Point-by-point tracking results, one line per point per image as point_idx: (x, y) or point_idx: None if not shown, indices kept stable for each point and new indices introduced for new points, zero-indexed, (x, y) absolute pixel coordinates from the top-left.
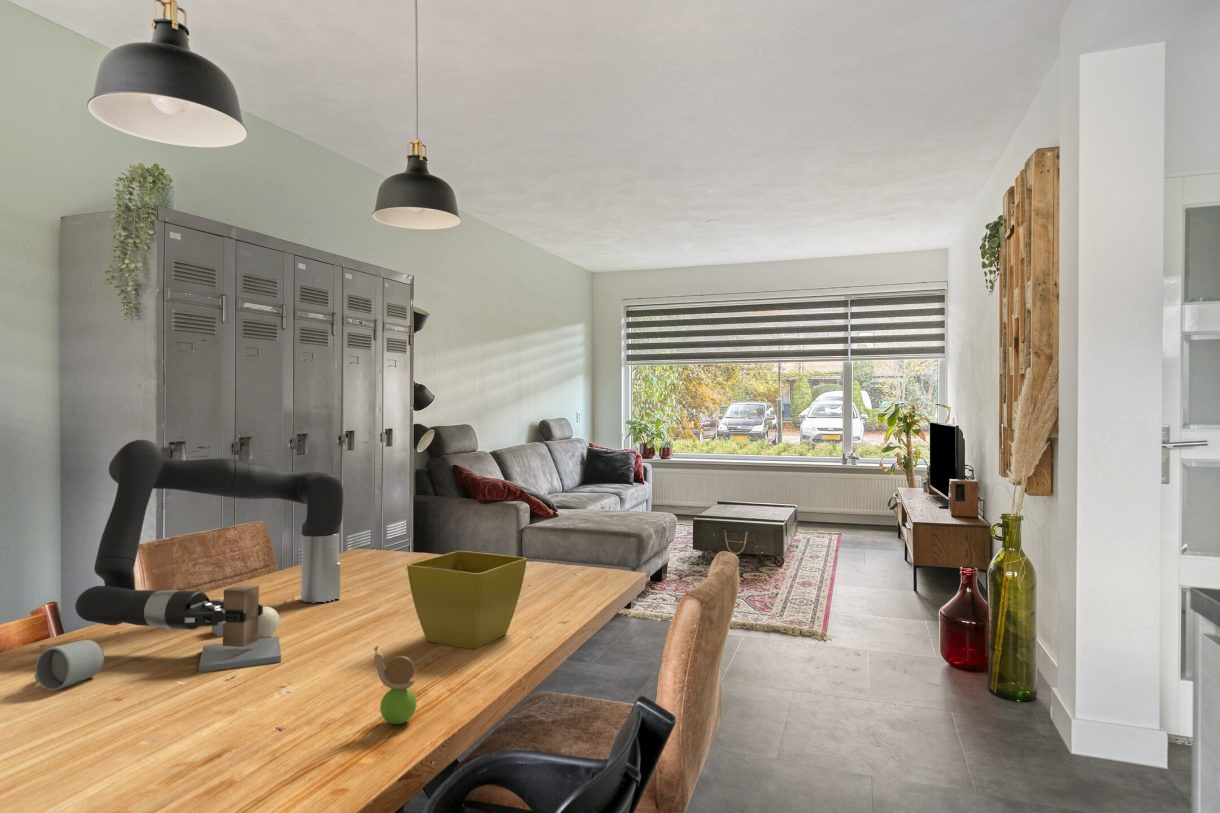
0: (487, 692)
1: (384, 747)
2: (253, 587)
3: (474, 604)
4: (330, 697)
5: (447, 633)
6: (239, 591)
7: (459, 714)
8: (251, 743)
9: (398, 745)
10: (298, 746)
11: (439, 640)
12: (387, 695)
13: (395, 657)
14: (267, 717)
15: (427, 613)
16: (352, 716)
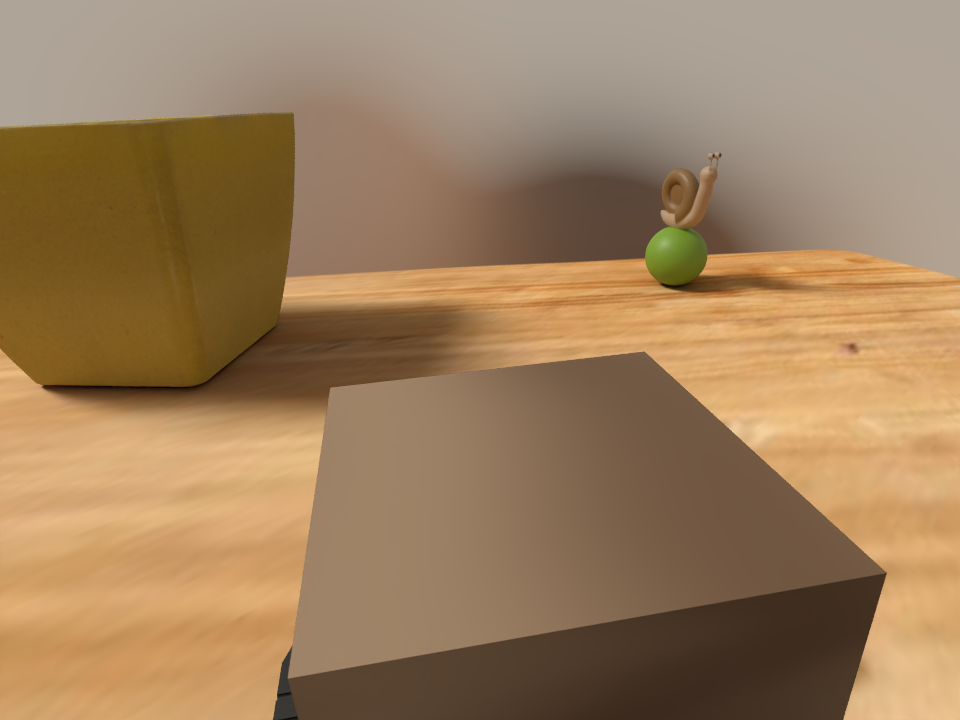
0: (503, 270)
1: (744, 271)
2: (443, 378)
3: (293, 199)
4: (670, 362)
5: (247, 317)
6: (678, 392)
7: (596, 266)
8: (931, 345)
9: (726, 268)
10: (851, 311)
11: (231, 353)
12: (698, 235)
13: (688, 171)
14: (852, 381)
15: (216, 284)
16: (706, 315)
